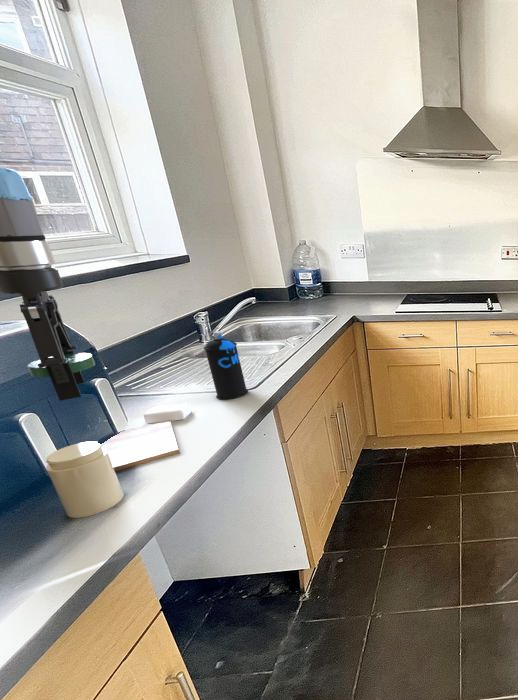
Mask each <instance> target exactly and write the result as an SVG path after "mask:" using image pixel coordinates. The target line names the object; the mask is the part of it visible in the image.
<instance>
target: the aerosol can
mask: <svg viewBox="0 0 518 700" xmlns="http://www.w3.org/2000/svg"><path fill="white" fill-rule="evenodd" d="M212 334H213V335H212V336H213V339H212V340H210V341H208V342H207V343H206V344H205V346H204V347H203V350H204V351H205V355H206V358H207V359H206V360H207V362H208V367H209V370H210V373H211V374H210V375H211V378H212V382H213V384H214V389H215V392H216V395H215V396H216V398H217V399H218V400H223V401H225V400H234V399H239V398H242V397H243V396H245V395H247V394H248V393H249V390H248V388H247V386H246V381H245V377H244V373H243V369H242V364H241V361H240V360H241V359H240V356H239V353H238V348H237V345H238V344H237V342H235V341H233V340H232V339H230V338H225V337H223V335H222V331H221V330H217V331H213V332H212Z"/></svg>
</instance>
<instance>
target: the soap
mask: <svg viewBox="0 0 518 700" xmlns="http://www.w3.org/2000/svg"><path fill="white" fill-rule="evenodd" d="M191 407H192V406H191V404H190V403H189V402H184V403H183V402H182V403H173V404H166V405H165V404H164V405H155V406H152V407H150V408H149V410H147V411H146V412H145V413H143V419H144V422H145V423H146V424H147V425H150V424H155V423H159V422H163V421H167V420H170V421H171V422H173V421H174V422H175V421H181V420H185V419H186V418H187V417H189V415H190V414H191V412H192V408H191Z"/></svg>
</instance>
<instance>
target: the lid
mask: <svg viewBox="0 0 518 700" xmlns="http://www.w3.org/2000/svg"><path fill="white" fill-rule="evenodd" d="M52 357H56V356H52ZM64 357H65V359H66V360H67V362H69V365H70V368H71V370H72V373H75V372H79V371H81V372H82V371H86V370H88V369H91V368H93V367H95V366H96V362H95V360H94V356H93V354H91V353H89V352H75V353H74V354H65V355H64ZM48 358H51V357H48ZM40 361H41V360H40V359H36V360H34V361H31V362H30V363H28V364H27V366H26V367H27V370H28V371H29V373H30V376H31V377H33V378H50V376H49V373H48V371H47V368H46V367H42V368H39V366H38V364H40V363H41V362H40Z"/></svg>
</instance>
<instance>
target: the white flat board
mask: <svg viewBox="0 0 518 700" xmlns="http://www.w3.org/2000/svg"><path fill="white" fill-rule="evenodd" d="M119 432H120V433H119ZM119 432H118V433H119V434H117V435H115V436H113V437H111V438H110V439H108V440H107V441H105V442H104V443H102V444H101V447H102V448H104V449H106V450H107V452H108V454H109V457H110V460H111V462H112V465H113V467H114V470H115V472H118V471H121V470H125V469H128V468H131V467H135V466H139V465H142V464H145V463H149V462H152V461H155V460H160V459H163V458H166V457H170V456H173V455H177V454H180V452H181V451H180V447H179V444H178V441H177V438H176V434H175V431H174V428H173V424H172V421H170V420H167V421H163V422H158V423H150V424H147V425H143V426H139V427H135V428H130V429H127V430H122V431H119Z"/></svg>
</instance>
